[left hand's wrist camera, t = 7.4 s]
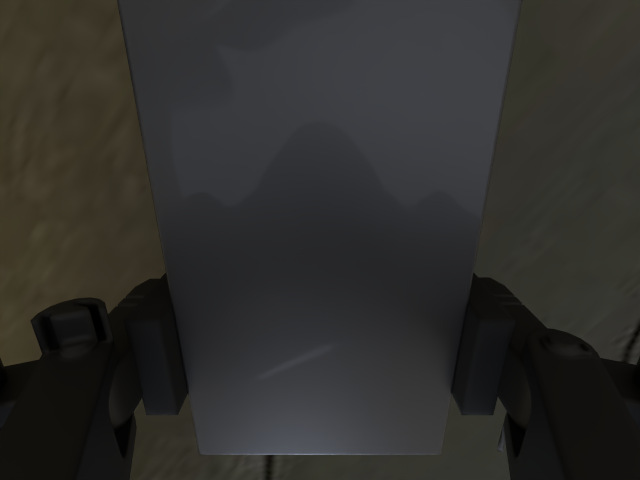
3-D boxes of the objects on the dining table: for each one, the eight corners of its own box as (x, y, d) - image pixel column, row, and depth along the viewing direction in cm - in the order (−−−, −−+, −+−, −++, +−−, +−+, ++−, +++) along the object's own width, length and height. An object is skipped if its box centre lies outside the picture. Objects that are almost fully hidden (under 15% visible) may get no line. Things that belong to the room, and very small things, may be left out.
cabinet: (230, -141, 13) (-48, -886, 3) (409, -141, 13) (686, -886, 3) (259, 276, 20) (197, 456, 10) (380, 276, 20) (441, 456, 10)
